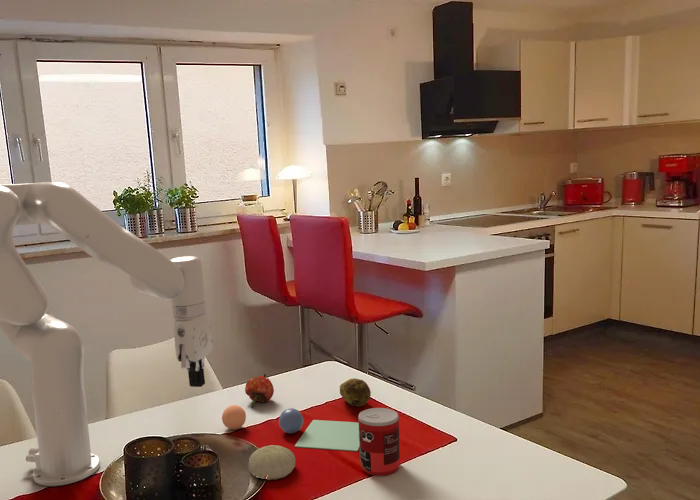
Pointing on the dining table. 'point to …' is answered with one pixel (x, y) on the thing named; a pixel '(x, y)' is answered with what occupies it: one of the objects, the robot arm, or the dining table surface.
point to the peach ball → (233, 417)
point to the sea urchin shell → (272, 462)
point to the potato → (355, 392)
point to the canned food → (379, 441)
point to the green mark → (331, 435)
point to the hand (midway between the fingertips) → (197, 385)
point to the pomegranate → (259, 389)
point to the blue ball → (291, 420)
